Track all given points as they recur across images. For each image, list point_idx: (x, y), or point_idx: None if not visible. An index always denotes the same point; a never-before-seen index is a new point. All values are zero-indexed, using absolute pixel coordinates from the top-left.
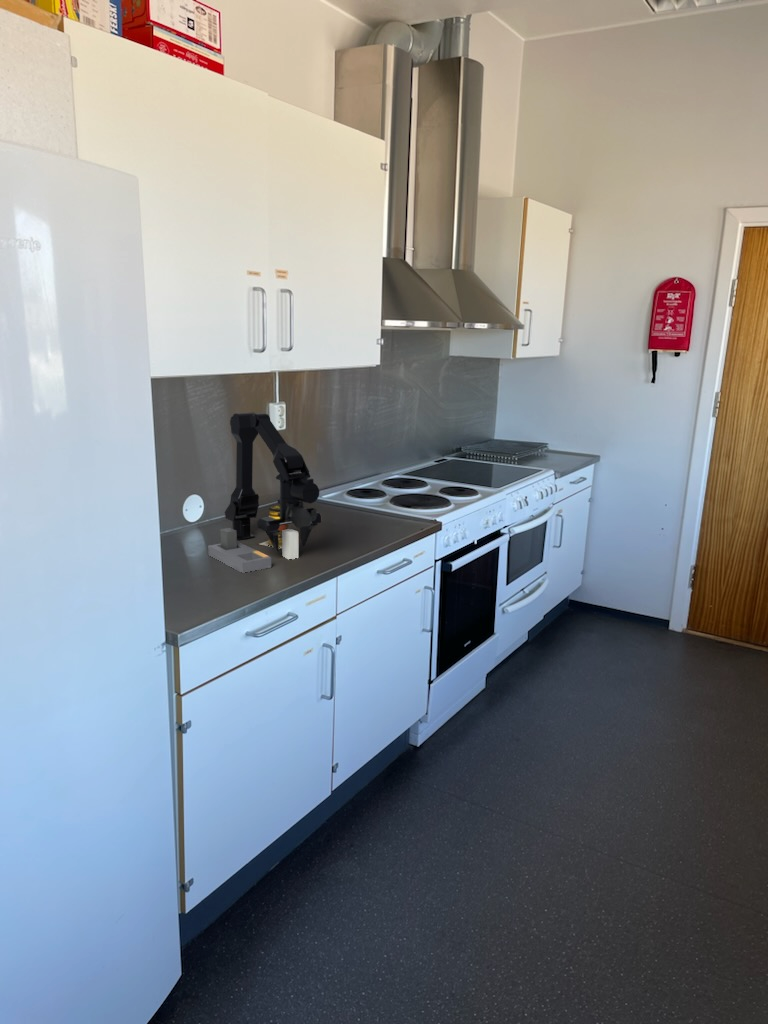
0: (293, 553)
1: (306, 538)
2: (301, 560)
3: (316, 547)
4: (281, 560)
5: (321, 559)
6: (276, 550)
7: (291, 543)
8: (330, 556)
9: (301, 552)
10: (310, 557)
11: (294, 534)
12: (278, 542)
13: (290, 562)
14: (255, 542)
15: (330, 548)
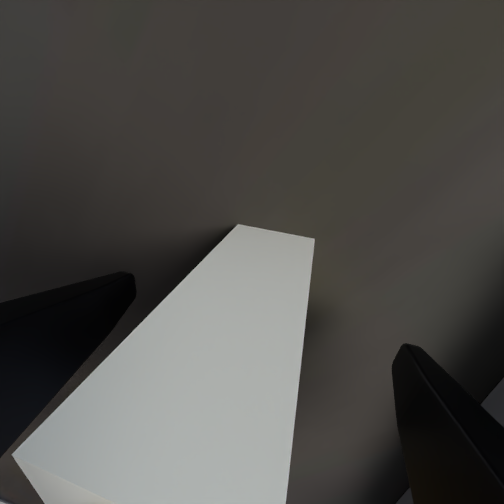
0: (271, 251)
1: (43, 300)
2: (256, 163)
3: (61, 286)
4: (368, 273)
5: (115, 64)
6: (428, 361)
7: (274, 321)
8: (34, 86)
9: (159, 288)
10: (162, 174)
11: (151, 436)
12: (479, 451)
13: (362, 185)
14: None
15: (2, 224)
